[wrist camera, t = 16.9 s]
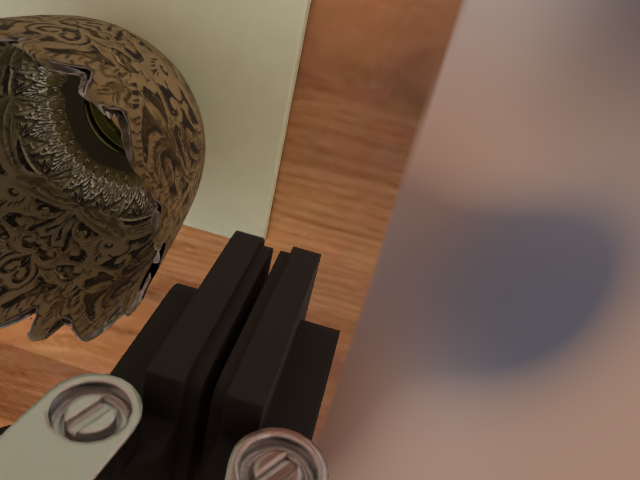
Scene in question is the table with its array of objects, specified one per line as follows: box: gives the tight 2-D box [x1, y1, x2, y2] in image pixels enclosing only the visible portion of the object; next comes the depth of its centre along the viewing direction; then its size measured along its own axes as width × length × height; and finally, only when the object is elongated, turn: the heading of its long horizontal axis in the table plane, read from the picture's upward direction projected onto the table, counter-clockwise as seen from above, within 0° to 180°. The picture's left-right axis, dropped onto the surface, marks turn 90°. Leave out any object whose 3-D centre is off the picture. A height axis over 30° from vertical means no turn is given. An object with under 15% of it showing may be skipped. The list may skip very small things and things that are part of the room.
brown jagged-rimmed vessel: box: [0, 15, 206, 342], centre depth 16 cm, size 8×7×8 cm
